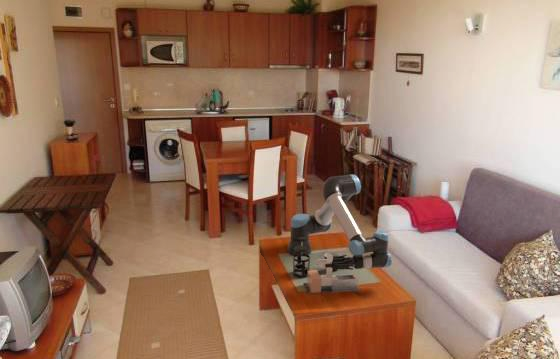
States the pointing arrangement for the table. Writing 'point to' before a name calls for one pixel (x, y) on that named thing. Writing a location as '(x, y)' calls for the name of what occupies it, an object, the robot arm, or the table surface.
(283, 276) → the table surface
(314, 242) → the table surface
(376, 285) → the table surface
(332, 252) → the coffee mug
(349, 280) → the slotted sleeve
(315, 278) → the socket block
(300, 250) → the french press
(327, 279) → the bar
